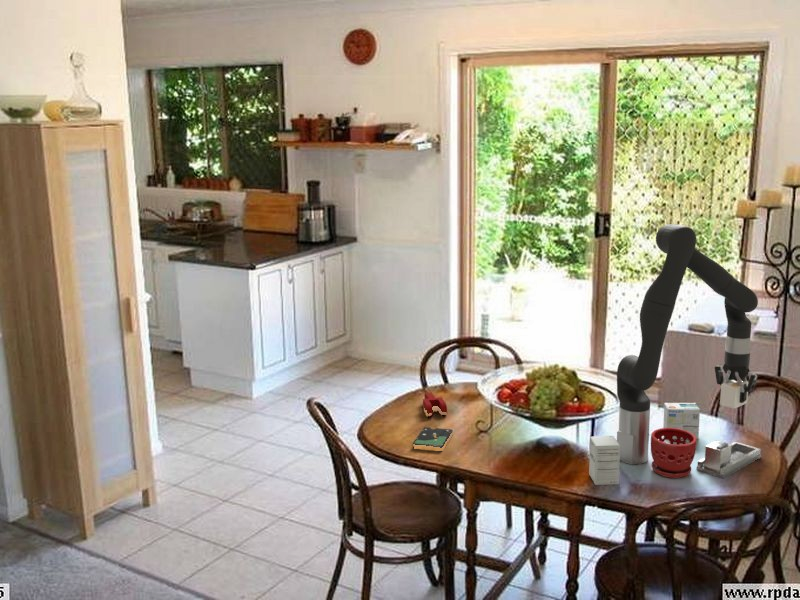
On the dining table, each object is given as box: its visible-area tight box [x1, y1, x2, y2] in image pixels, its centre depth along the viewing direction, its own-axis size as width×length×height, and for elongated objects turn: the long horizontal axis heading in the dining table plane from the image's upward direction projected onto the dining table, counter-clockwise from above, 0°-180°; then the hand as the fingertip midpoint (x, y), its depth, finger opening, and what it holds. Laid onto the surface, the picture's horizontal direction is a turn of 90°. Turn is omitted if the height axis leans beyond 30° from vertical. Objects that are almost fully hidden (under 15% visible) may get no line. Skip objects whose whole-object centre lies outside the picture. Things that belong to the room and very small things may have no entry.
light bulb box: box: [662, 402, 701, 440], centre depth 281 cm, size 11×7×11 cm, turn 84°
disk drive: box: [412, 426, 453, 448], centre depth 283 cm, size 10×3×15 cm
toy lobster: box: [422, 392, 448, 414], centre depth 311 cm, size 16×7×5 cm, turn 11°
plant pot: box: [650, 427, 698, 479], centre depth 253 cm, size 13×13×12 cm
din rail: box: [696, 440, 762, 479], centre depth 259 cm, size 22×9×9 cm, turn 130°
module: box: [719, 380, 749, 410], centre depth 270 cm, size 8×5×8 cm, turn 130°
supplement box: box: [588, 435, 620, 486], centre depth 250 cm, size 7×7×13 cm
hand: (733, 400), depth 271 cm, fingers closed on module, 5 cm apart
